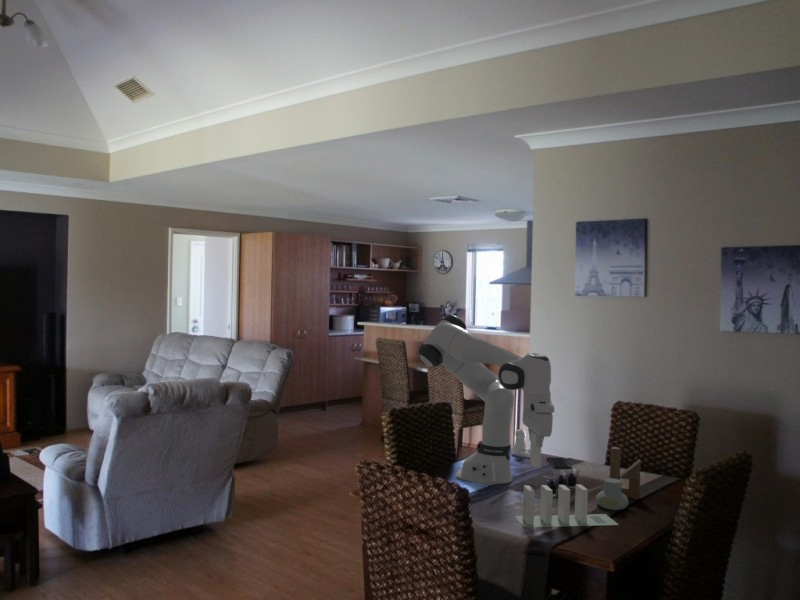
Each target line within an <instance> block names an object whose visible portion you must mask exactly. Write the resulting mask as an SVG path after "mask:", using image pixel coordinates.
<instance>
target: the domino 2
mask: <svg viewBox="0 0 800 600" xmlns="http://www.w3.org/2000/svg"><path fill="white" fill-rule="evenodd" d="M536 441H537V434H536V433H535V432H534V431H531V441H530V444H529V445H530V447H529V449H530V458H529V464H530V465H532V466H533V467H534V468H535V469H536V468H538V469H539V468H541V466H542V465H541V463H542V459H541V458H542V447H537V446H536Z"/></svg>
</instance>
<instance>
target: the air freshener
mask: <svg viewBox="0 0 800 600" xmlns="http://www.w3.org/2000/svg"><path fill="white" fill-rule="evenodd" d="M621 486H623V483H622V481H621V480H618V479H613V478H610V477H608V478H605V479H604V481H603V490H601V491H600V492H598V493H597V494H596V496H595V501H596V504H597V505H599V506H600V507H601V508H603V509H607V510H612V511H621V510H624V509H626V508H627V507H628V506H629V498H627V497H626V496H625V495H624V494H623V493H621Z"/></svg>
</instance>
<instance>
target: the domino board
mask: <svg viewBox="0 0 800 600" xmlns="http://www.w3.org/2000/svg"><path fill="white" fill-rule="evenodd" d="M514 518H515V519H516V520H517V521H518V523H519V524H520V525H522V527H523V528H525V529H526V528H552V527H553V528H554V527H555V528H556V527H561V528H562V527H589V526H590V527H592V526H595V527H596V526H619V525H620V524H619V523H617V522H616V521H615V520H614V519H612V518H611V517H610V516H609V515H608V514H606V513H600V514H599V513H597V514H596V513H593V514H592V513H591V514H588V513H587V523H581V522H579V521H578V520H577V519H576V518H575V514H569V524H564V523H563V522H562V521H560V520H559V519H558V518H557V514H555V515H552V523H551V524H545V523H544V522H543V521H542V520H541V519H540V515H534V525H528V524H527V523H526V522H525V521H524V519H523V515H519V516H518V515H516V516H515V515H514Z"/></svg>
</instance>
